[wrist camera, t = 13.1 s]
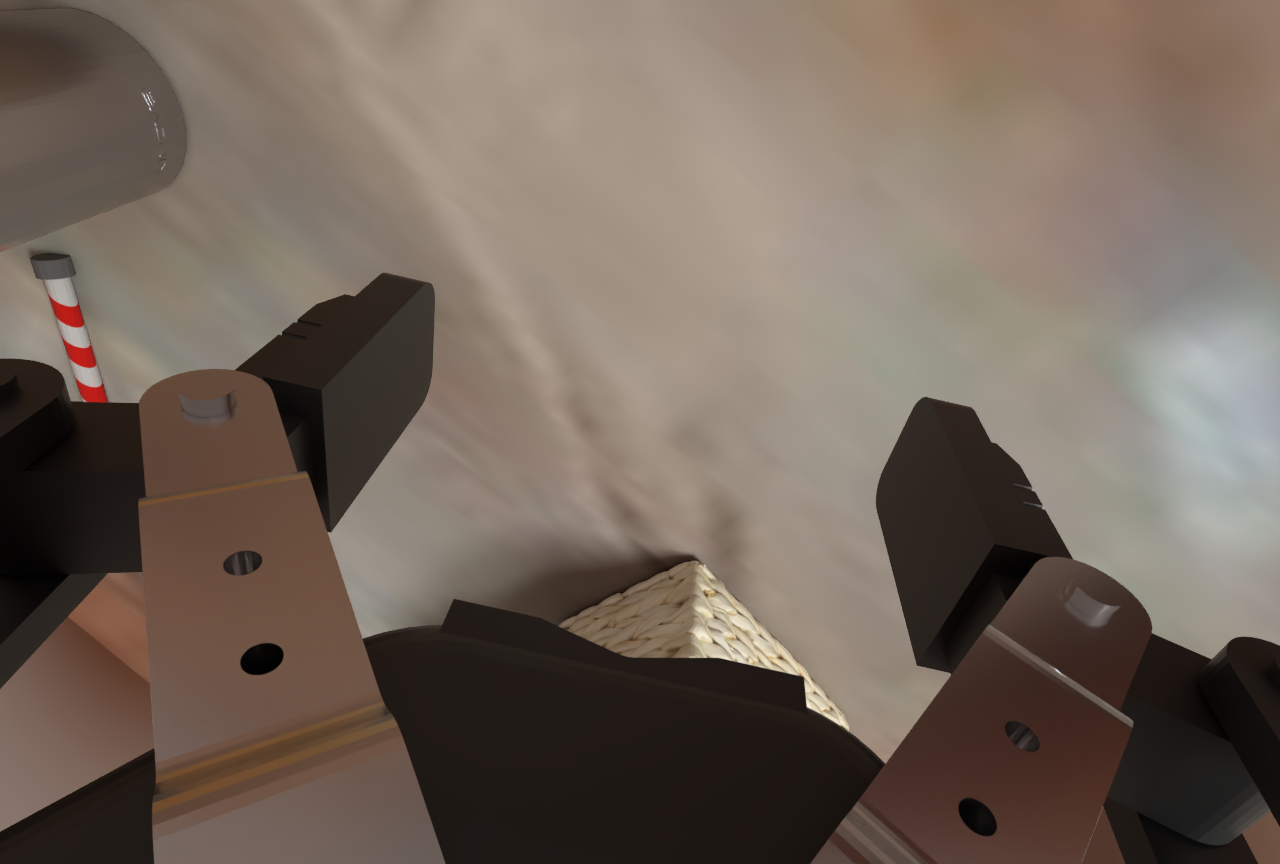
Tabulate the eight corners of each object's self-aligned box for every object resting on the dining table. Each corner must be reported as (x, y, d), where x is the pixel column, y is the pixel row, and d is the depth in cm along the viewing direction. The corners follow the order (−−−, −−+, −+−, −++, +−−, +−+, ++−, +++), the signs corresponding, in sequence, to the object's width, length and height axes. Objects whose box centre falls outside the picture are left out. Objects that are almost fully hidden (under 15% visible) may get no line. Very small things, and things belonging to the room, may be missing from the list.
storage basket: (868, 723, 59) (903, 923, 46) (705, 776, 65) (698, 963, 53) (700, 534, 50) (687, 719, 38) (531, 617, 57) (473, 798, 44)
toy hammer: (-27, 242, 44) (-131, 279, 39) (152, 257, 43) (70, 297, 38) (107, 524, 57) (42, 581, 51) (248, 540, 56) (197, 600, 51)
